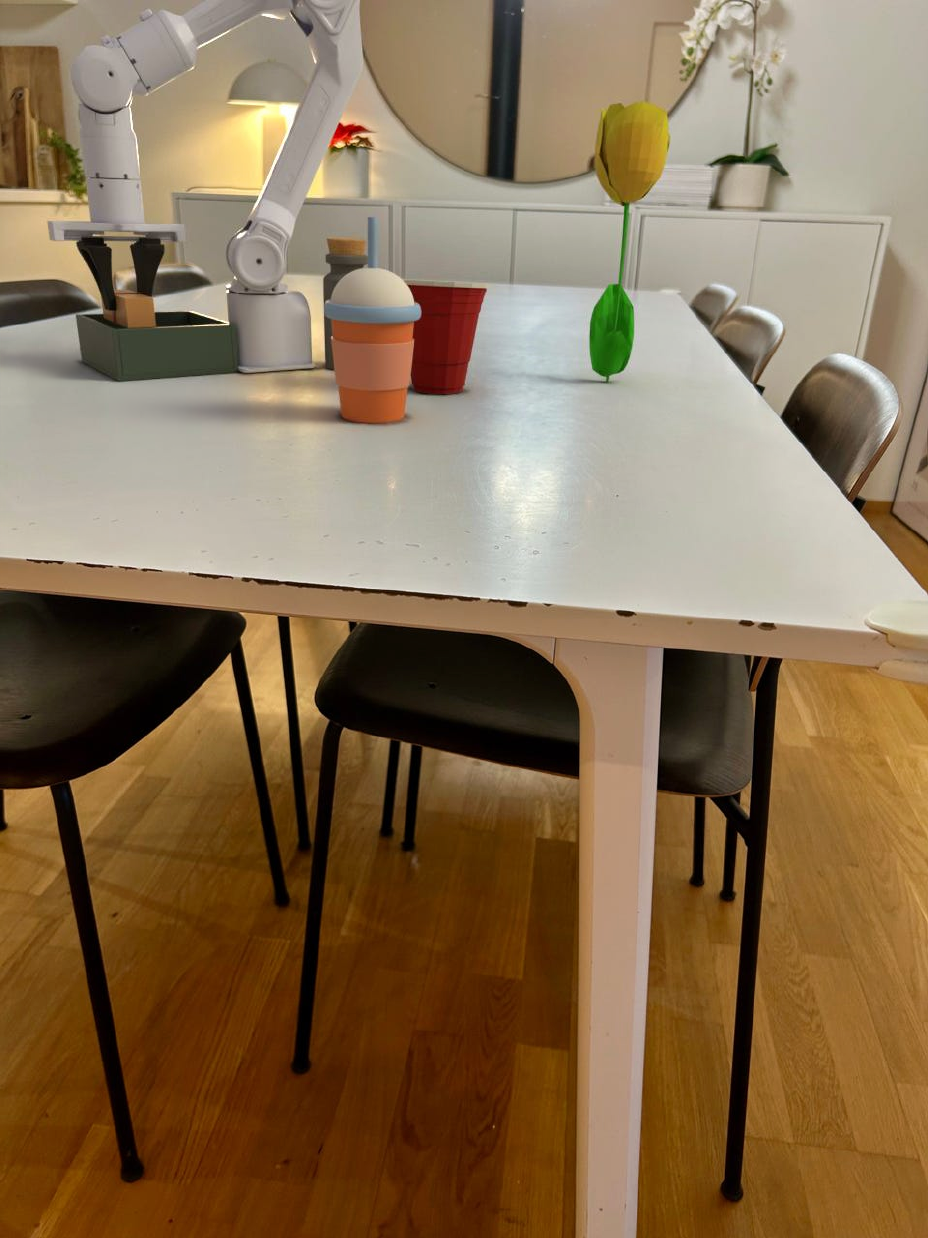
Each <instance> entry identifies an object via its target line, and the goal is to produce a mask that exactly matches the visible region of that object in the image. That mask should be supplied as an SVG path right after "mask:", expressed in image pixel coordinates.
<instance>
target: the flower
mask: <svg viewBox="0 0 928 1238" xmlns="http://www.w3.org/2000/svg"><path fill="white" fill-rule="evenodd" d="M598 122H599V123H598V127H597V131H596V138H595V146H594V169H595V174H596V178H597V179H598V181H599V184H600V185H601V187H602V189H603V191H604V192H605V193H606V195H607V196H608V197H609V198H610V200H611V201H613V202H614V203H616V204H618V205H620V206H621V207H623V218H622V219H623V221H622V235H621V249H620V251H621V252H620V263H619V273H618V274H619V275H618V283H614V284H613V283H609V284H608V285H607V286H606V288H605V290H604V291H603V293H602V294H601V296H600V297H599V298H598V300H597V302H596V304H595V305H594V307H593V310H592V312H591V317H590V321H589V335H588V337H589V338H588V339H589V341H588V344H589V357H590V363H591V370H592V371H593V372H595V373H596V374H597V375H599V376H600V377H605V383H606V384H607V383H608V384H609V382H610V377H611V376H613V375H617V374H620V373H622V372H623V371H625V369H626V367H627V366H628V363H629V361H630V358H631V355H632V350H633V346H634V339H635V311H634V305H633V304H632V301H631V300H630V298H629V296H628V294H627V292H626V290H625V289H624V288H623V286H622V281H623V273H624V264H625V263H624V262H625V254H626V245H627V237H628V235H627V234H628V225H629V222H628V221H629V214H630V213H629V211H630V203H631V204H632V203H636V202H638V201H640V200H641V199H644V198H645V197H646V196H647V195H648V193H649V192H650V191H651V190H652V188H653V187H654V186H655V185H656V184H657V182H658V181H659V179H660V178H661V177H662V175H663V171H664V169H665V166H666V161H667V157H668V151H669V148H670V143H671V135H670V133H669V118H668V113H667V110H665V109H663V108H662V107H660V106H658V105H656V104H653V103H651V102H647V101H645V100H642V101H641V100H640V101H636V102H633V103H631V104H629V105H627V106H624V105H623V104H622V102H618V103H611V104H609V106H608V108H607V109H605V108H604V107H602V108H601V112H600V116H599V121H598Z"/></svg>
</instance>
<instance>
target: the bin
mask: <svg viewBox="0 0 928 1238" xmlns="http://www.w3.org/2000/svg"><path fill="white" fill-rule="evenodd" d="M154 312H155V322H156V327H143V328H127V327H124V326H122V325H119V324H114V322H112V321H109V320H107V319H104V316H103V313H82V314H80V313H78V314H77V313H76V314H75V321H76V327H77V335H78V344H79V350H80V357H81V362H82V363H84V364H86V365H87V366H90V367H92V368H93V369H95V370H97V371H99V372H101V373H102V374H104V375H106V376H108V377H109V378H112V379H113V380H115V381H117V382H126V381H127V382H128V381H140V380H155V379H167V378H180V377H193V376H194V377H195V376H206V375H219V374H235V373H239V372H240V371H238V355H237V340H236V325H235V324H232V323H229V321H225V320H222V319H219V318H216V317H212V316H209V315H207V314H203V313H199V312H196V311H193V310H170V311H168V310H167V311H154Z"/></svg>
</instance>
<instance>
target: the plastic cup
mask: <svg viewBox="0 0 928 1238" xmlns="http://www.w3.org/2000/svg"><path fill="white" fill-rule="evenodd" d="M402 280H403V281H404V282H405V283H406V285H407V286H408V287H409V289H410V291H411V293H412V296H413V299H414V302H416V303H418V304H419V305H420V307H421V317H420V319H419V320H417V321H414V327H413V337H412V338H413V339H414V347H413V357H412V366H411V376H410V383H411V385H412V389H413V391H414V392H416V393H417V392H418V393H423V394H429V395H430V394H431V395H453V394H459V393H462V392H463V390H464V386H465V383H466V380H467V373H468V368H469V363H470V361H471V357H472V352H473V348H474V347H473V346H474V342H475V337H476V332H477V327H478V321H479V316H480V313H481V310H482V305H483V303H484V300H485V296H486V293H487V291H488V290H487V289H490V287H491V284H490V283H481V282H461V281H445V280H444V281H441V280H440V281H439V280H421V279H420V280H419V279H402Z"/></svg>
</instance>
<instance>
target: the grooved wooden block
mask: <svg viewBox="0 0 928 1238" xmlns="http://www.w3.org/2000/svg"><path fill="white" fill-rule="evenodd" d="M114 293H115V299H116V311H109V310H106V309H105V307H104V303H103V300H102V297H101V296H100V299H101V307H102V314H103V316H104V319H107V320H109V321H112V322H114V324H119V325H122V326H124V327H127V328H143V327H156V322H155V312H156V311H155V304H154V297H153V296H152V297H150V296H146V295H143V294H142V293H140V292H137V291H133V290H130V289H114Z"/></svg>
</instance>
